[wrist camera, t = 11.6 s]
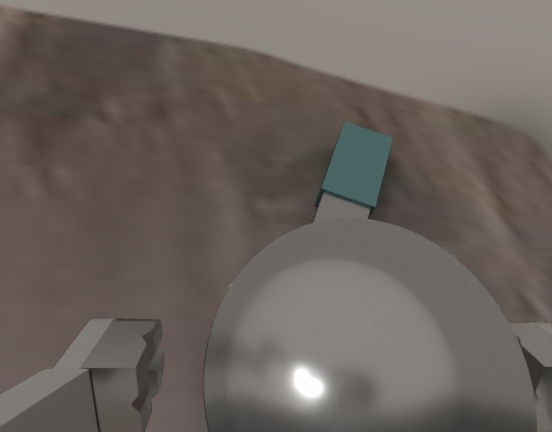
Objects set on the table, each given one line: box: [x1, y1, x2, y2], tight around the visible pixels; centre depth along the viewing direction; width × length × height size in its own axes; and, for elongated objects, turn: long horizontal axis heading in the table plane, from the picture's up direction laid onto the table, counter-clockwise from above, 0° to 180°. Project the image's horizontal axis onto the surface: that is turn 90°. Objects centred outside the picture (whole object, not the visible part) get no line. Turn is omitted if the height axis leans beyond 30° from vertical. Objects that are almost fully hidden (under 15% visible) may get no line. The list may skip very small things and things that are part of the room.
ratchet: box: [312, 122, 393, 223], centre depth 15 cm, size 18×7×6 cm, turn 160°
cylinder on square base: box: [203, 218, 537, 432], centre depth 9 cm, size 5×5×9 cm
